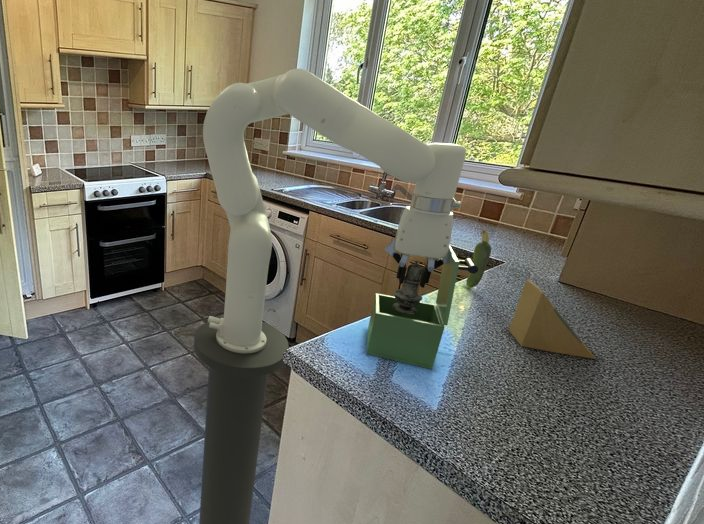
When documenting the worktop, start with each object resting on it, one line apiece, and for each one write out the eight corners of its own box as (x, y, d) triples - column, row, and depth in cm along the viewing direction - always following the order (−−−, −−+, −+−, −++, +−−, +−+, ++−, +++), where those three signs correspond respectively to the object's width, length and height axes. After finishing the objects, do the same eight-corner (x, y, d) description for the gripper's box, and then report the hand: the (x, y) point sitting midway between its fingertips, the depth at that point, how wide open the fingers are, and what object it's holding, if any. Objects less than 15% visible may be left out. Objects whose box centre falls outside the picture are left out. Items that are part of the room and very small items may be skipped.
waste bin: (366, 353, 95) (375, 313, 91) (367, 330, 105) (375, 293, 101) (432, 369, 90) (444, 327, 86) (426, 343, 100) (437, 304, 96)
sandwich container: (597, 360, 96) (623, 303, 91) (521, 346, 101) (542, 292, 95) (578, 341, 104) (600, 288, 99) (508, 329, 108) (526, 278, 103)
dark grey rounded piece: (422, 316, 91) (436, 266, 87) (394, 313, 92) (407, 264, 88) (414, 304, 96) (426, 257, 92) (387, 301, 97) (398, 254, 93)
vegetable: (480, 289, 133) (498, 231, 125) (477, 293, 130) (496, 233, 123) (464, 285, 135) (481, 227, 128) (461, 289, 132) (479, 230, 125)
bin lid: (455, 261, 82) (484, 264, 80) (446, 244, 92) (472, 246, 90) (442, 324, 86) (470, 328, 85) (435, 302, 96) (460, 305, 95)
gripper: (473, 205, 86) (450, 284, 92) (387, 196, 92) (371, 271, 98) (481, 213, 79) (455, 297, 86) (388, 202, 85) (371, 282, 92)
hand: (411, 282), depth 92 cm, fingers closed on dark grey rounded piece, 3 cm apart
